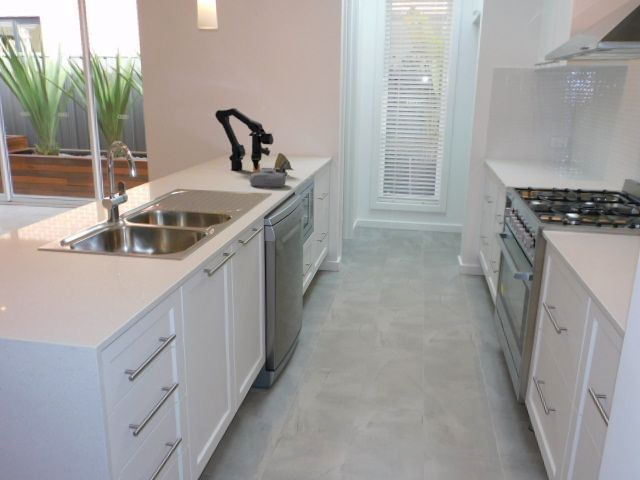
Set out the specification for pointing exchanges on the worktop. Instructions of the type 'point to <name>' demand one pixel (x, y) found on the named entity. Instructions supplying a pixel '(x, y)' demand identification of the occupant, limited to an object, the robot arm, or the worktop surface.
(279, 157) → the rock
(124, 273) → the worktop surface
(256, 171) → the orange cube
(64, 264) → the worktop surface
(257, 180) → the small grey backpack
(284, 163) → the block
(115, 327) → the worktop surface
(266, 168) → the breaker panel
